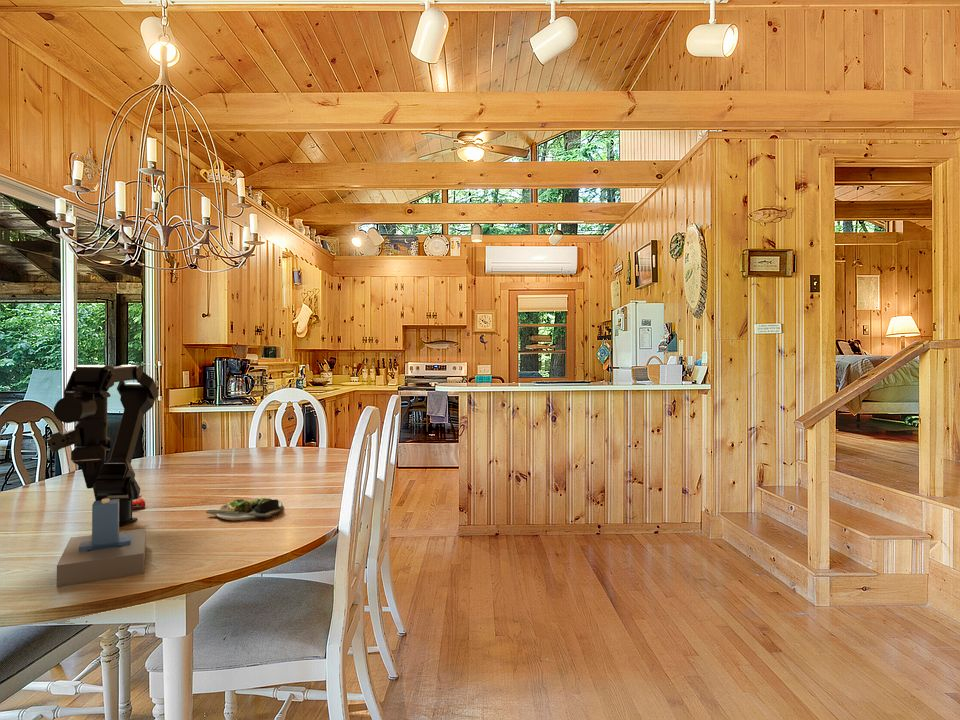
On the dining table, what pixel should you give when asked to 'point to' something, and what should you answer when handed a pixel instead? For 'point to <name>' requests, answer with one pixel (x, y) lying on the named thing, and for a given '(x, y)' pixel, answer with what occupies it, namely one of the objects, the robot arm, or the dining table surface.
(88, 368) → the robot arm
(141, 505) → the race car
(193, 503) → the dining table surface
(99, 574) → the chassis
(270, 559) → the dining table surface
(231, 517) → the salad plate
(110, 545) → the servo
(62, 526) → the dining table surface
